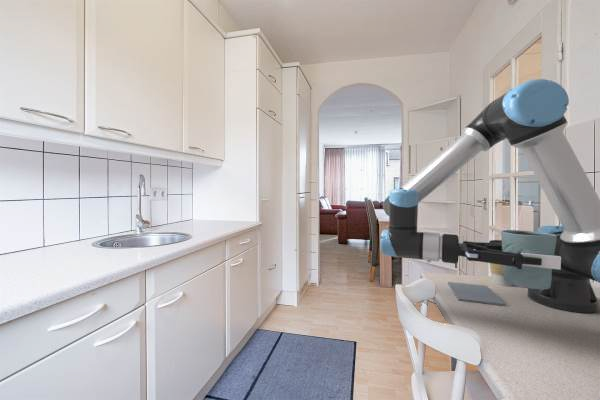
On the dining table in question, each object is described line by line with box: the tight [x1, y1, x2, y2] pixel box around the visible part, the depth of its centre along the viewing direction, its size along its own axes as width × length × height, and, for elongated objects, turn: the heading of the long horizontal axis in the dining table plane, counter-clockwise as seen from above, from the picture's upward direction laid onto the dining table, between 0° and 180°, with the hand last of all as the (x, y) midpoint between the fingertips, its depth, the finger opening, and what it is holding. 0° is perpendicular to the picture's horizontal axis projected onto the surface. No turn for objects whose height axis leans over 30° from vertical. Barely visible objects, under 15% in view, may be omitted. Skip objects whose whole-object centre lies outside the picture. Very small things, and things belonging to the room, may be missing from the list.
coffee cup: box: [488, 239, 515, 287], centre depth 97 cm, size 10×10×15 cm
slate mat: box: [447, 281, 506, 307], centre depth 88 cm, size 12×16×1 cm
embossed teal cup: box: [500, 229, 557, 289], centre depth 64 cm, size 10×10×12 cm
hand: (551, 257), depth 62 cm, fingers closed on embossed teal cup, 9 cm apart
